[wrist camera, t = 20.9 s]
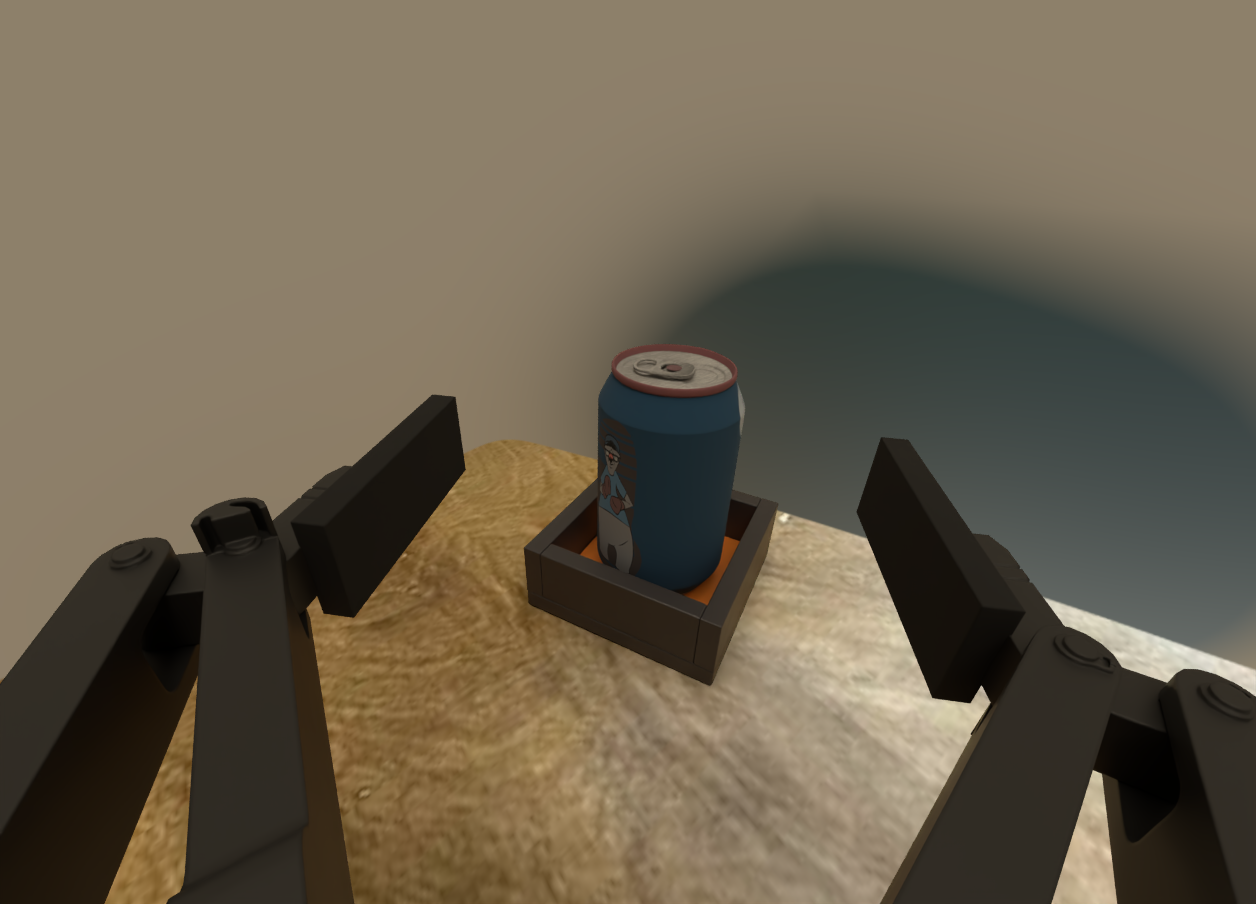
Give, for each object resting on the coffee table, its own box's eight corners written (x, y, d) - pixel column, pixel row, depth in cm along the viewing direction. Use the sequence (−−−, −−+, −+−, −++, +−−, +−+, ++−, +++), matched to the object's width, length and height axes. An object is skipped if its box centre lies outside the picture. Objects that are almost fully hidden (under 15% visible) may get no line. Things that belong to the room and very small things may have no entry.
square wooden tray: (528, 603, 28) (523, 547, 26) (619, 504, 37) (620, 455, 34) (711, 686, 24) (721, 627, 22) (766, 554, 33) (778, 502, 31)
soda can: (727, 540, 32) (760, 351, 26) (704, 624, 26) (739, 407, 20) (620, 514, 34) (627, 332, 28) (577, 587, 28) (573, 378, 22)
